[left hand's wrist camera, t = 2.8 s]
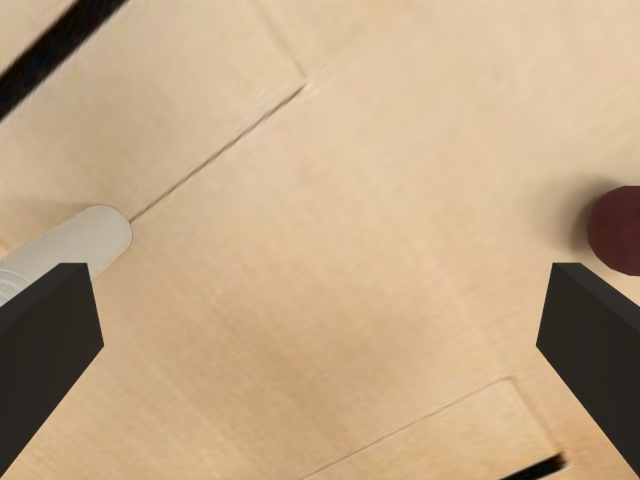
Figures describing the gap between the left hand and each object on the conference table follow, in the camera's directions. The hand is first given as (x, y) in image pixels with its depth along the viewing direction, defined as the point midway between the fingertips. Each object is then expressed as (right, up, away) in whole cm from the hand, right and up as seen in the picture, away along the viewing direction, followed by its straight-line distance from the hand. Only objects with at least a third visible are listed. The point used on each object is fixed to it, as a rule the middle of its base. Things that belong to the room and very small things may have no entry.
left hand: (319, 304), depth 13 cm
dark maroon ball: (+27, +4, +28) cm, 39 cm away
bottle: (-20, +3, +29) cm, 35 cm away
